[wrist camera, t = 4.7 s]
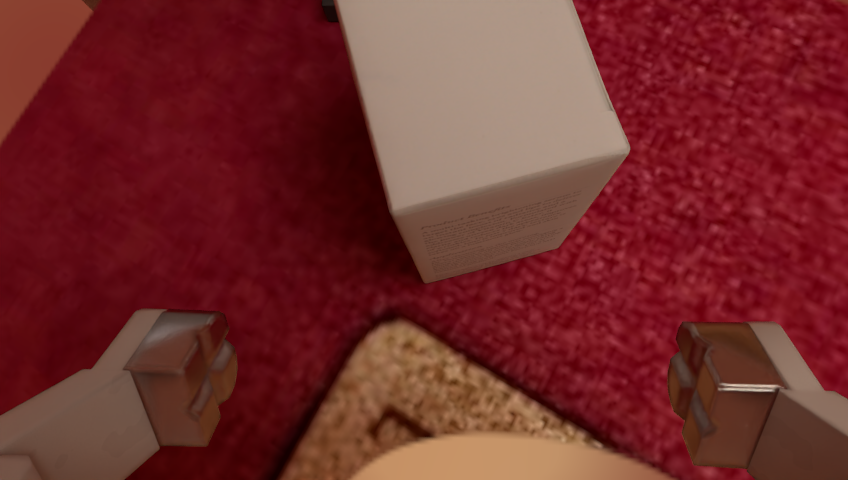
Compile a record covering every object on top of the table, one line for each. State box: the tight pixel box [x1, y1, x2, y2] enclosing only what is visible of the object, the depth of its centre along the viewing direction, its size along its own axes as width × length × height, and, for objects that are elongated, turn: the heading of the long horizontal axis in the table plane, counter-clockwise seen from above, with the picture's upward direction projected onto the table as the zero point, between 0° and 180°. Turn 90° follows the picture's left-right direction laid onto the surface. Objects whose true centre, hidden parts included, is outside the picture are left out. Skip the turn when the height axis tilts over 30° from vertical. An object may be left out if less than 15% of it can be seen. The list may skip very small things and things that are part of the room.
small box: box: [333, 0, 630, 283], centre depth 19 cm, size 8×6×10 cm
